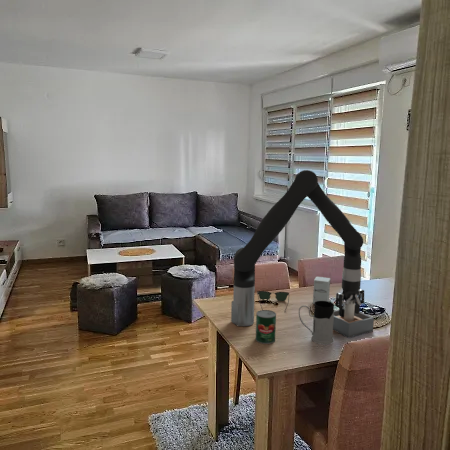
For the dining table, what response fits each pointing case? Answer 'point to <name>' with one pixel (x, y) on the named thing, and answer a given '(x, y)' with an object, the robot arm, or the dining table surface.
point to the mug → (322, 322)
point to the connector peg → (349, 311)
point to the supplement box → (321, 289)
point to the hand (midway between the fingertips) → (349, 314)
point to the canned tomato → (265, 326)
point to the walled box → (353, 324)
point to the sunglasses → (279, 296)
